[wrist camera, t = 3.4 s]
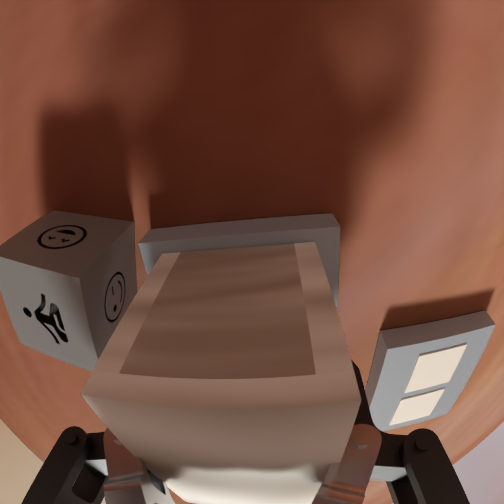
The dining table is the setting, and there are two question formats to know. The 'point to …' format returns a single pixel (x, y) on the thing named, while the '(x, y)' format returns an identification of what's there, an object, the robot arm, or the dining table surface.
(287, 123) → the dining table surface
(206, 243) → the grey piece
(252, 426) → the cream block
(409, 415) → the board
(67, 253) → the dice cube
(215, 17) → the dining table surface
